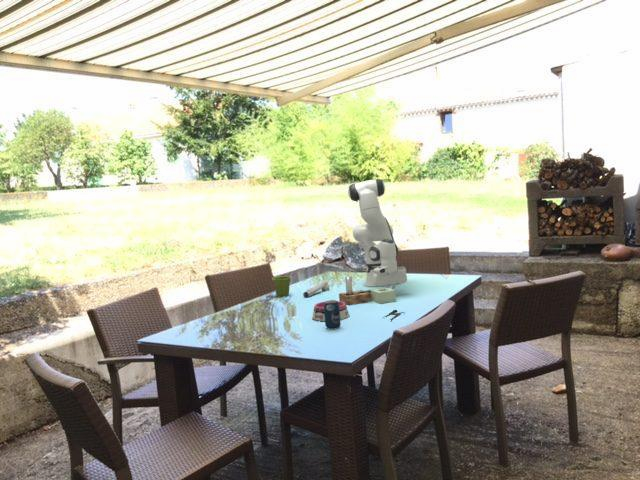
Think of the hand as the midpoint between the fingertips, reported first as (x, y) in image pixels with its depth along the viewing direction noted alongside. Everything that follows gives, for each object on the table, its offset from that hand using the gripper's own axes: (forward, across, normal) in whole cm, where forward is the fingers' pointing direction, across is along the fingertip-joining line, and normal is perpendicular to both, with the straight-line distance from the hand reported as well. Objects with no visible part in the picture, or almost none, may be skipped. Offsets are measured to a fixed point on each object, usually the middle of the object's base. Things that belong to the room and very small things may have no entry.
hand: (390, 292), depth 300 cm
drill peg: (+2, +25, 0) cm, 25 cm away
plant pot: (+2, +51, -46) cm, 69 cm away
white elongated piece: (+3, +32, -38) cm, 49 cm away
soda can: (+2, +52, +45) cm, 69 cm away
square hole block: (+2, +9, +9) cm, 13 cm away
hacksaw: (+3, +22, +46) cm, 51 cm away
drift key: (+2, +11, 0) cm, 11 cm away
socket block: (+2, +22, 0) cm, 22 cm away
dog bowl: (+3, +46, +26) cm, 53 cm away
